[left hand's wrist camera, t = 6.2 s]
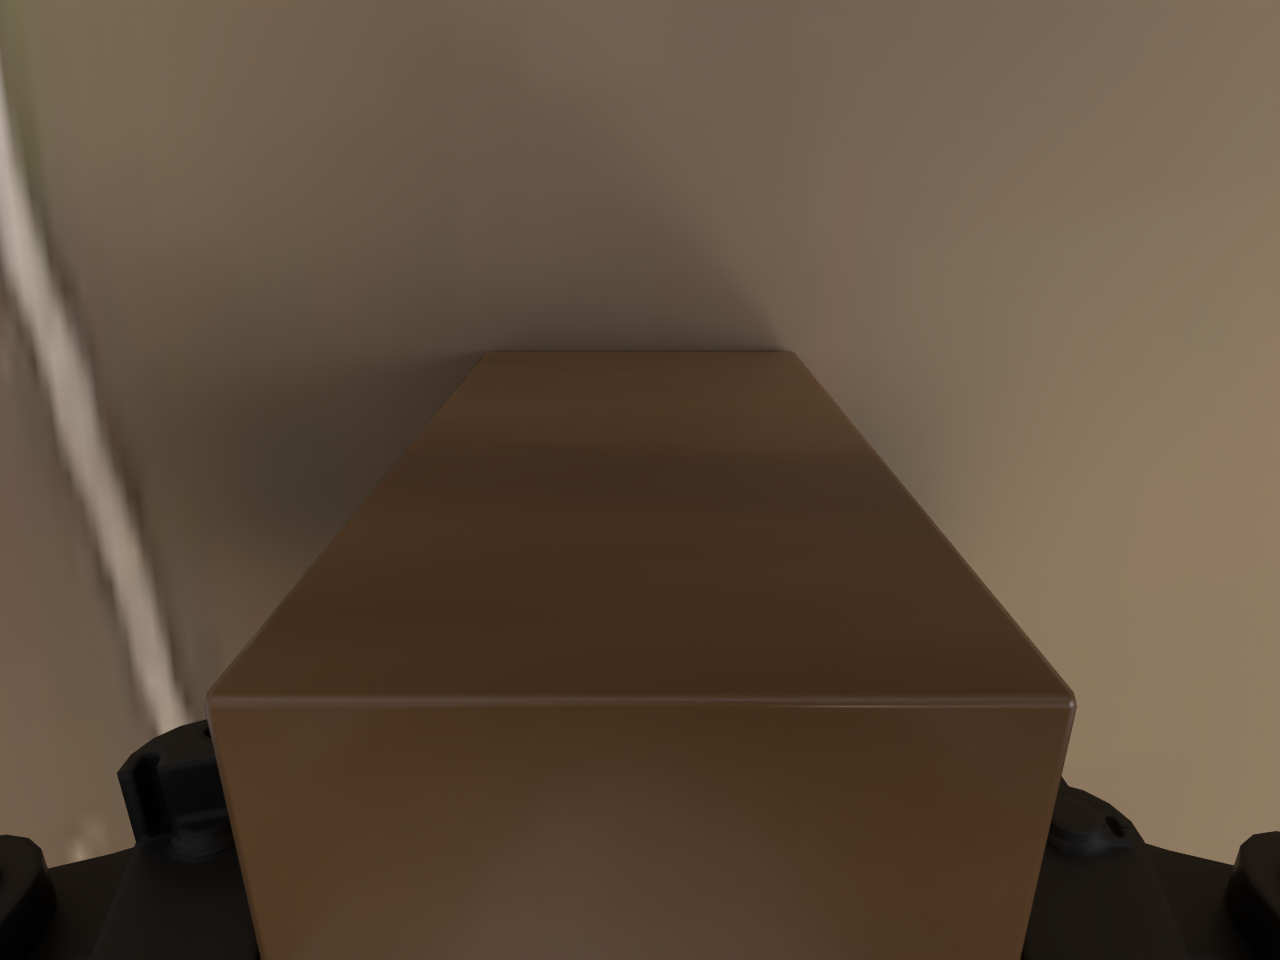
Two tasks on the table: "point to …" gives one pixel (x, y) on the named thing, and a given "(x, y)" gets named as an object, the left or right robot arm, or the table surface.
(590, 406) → the brown wooden block
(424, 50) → the table surface
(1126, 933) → the left robot arm
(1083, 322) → the table surface
